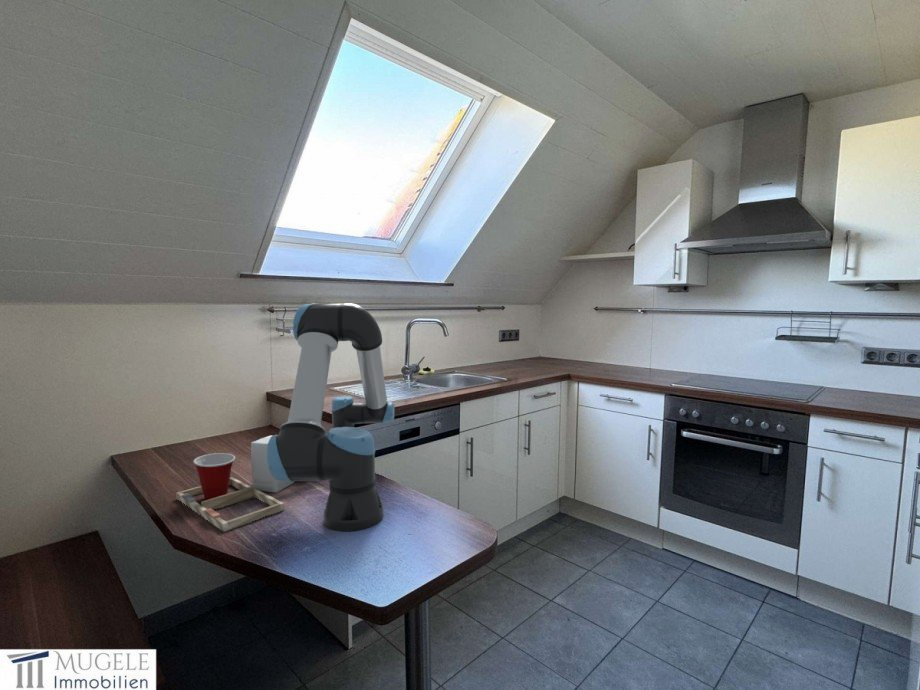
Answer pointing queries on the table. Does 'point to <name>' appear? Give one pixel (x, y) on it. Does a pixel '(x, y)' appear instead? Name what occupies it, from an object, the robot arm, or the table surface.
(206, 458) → the plastic cup
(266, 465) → the supplement box
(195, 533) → the table surface
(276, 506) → the wooden frame
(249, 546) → the table surface
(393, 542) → the table surface
